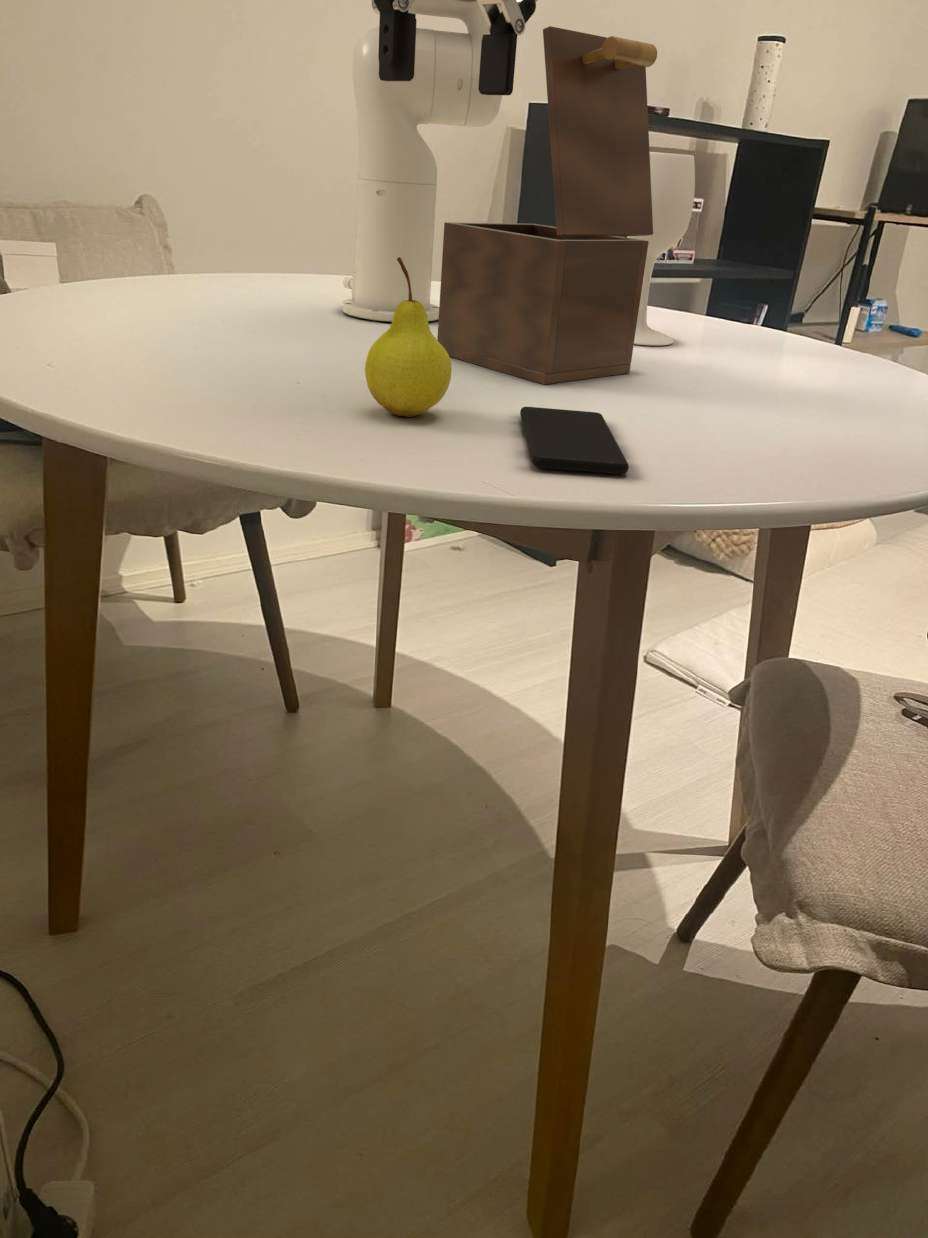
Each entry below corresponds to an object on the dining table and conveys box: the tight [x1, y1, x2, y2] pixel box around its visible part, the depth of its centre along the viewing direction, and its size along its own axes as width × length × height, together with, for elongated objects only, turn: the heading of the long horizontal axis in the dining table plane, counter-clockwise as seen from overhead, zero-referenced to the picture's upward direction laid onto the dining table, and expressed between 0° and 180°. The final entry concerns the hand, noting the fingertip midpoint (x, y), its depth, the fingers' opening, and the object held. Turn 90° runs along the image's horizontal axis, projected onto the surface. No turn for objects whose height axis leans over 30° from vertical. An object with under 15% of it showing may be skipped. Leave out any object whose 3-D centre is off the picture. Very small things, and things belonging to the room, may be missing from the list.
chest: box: [436, 221, 649, 385], centre depth 101 cm, size 16×13×13 cm
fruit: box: [364, 257, 452, 418], centre depth 78 cm, size 7×7×12 cm
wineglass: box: [626, 151, 696, 347], centre depth 117 cm, size 9×9×21 cm
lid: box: [542, 25, 658, 237], centre depth 89 cm, size 17×13×5 cm
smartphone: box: [519, 406, 630, 475], centre depth 75 cm, size 7×1×15 cm
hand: (447, 87), depth 72 cm, fingers open, 9 cm apart
